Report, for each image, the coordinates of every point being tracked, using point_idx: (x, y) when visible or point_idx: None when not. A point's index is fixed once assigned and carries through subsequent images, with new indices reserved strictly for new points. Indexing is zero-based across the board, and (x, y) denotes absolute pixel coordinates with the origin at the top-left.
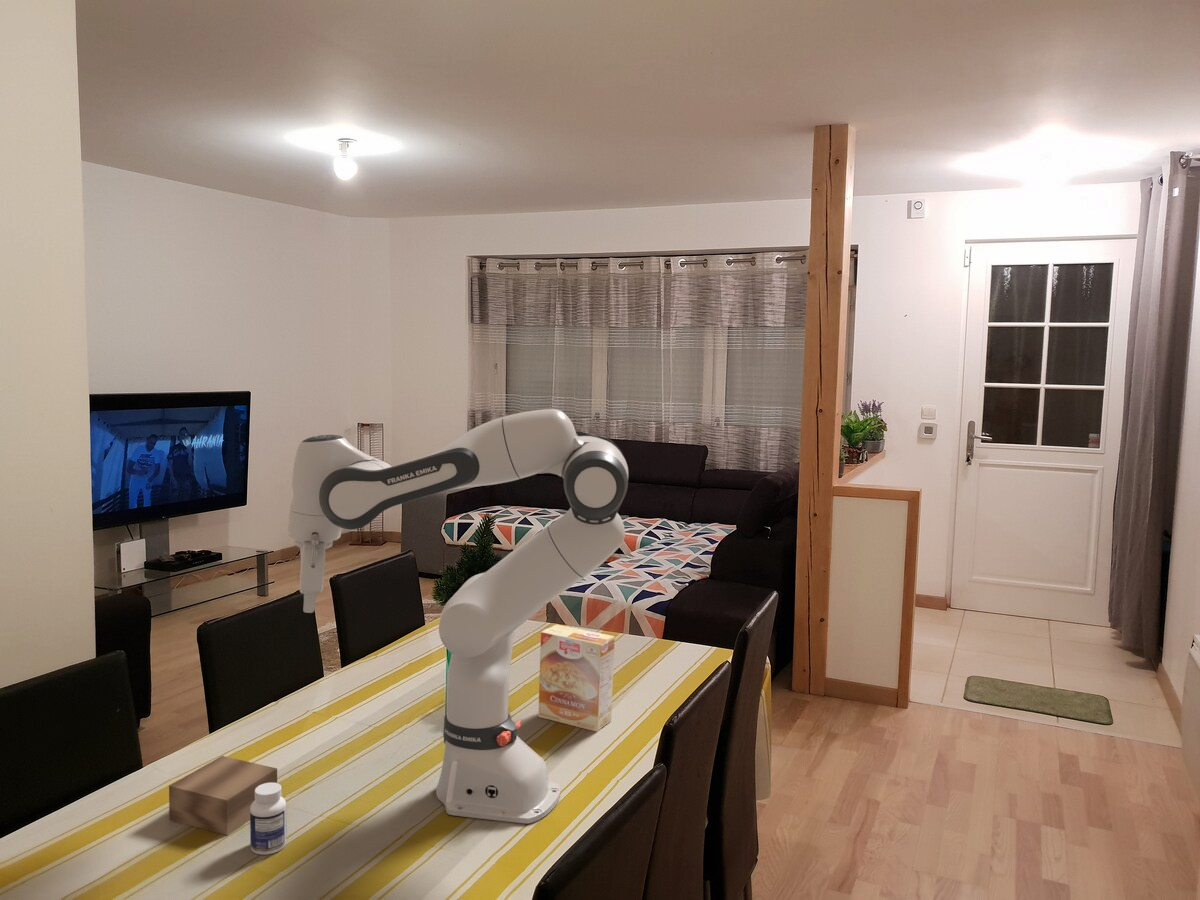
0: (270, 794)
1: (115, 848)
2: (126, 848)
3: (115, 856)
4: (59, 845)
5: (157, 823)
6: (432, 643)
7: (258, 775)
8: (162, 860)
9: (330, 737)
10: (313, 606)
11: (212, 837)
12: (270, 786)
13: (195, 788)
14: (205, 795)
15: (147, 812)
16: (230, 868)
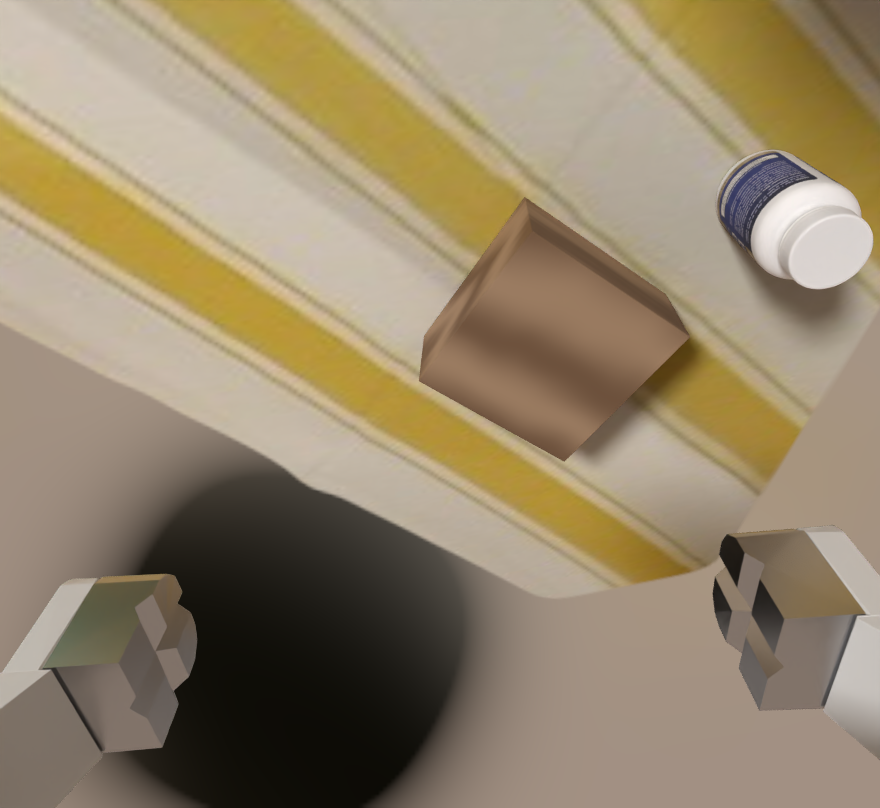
0: (872, 242)
1: (637, 473)
2: (644, 457)
3: (668, 467)
4: (595, 544)
5: None
6: None
7: (566, 278)
8: (718, 395)
9: (101, 65)
10: (873, 580)
11: None
12: (820, 248)
13: (596, 410)
14: (640, 385)
15: (509, 451)
16: None
